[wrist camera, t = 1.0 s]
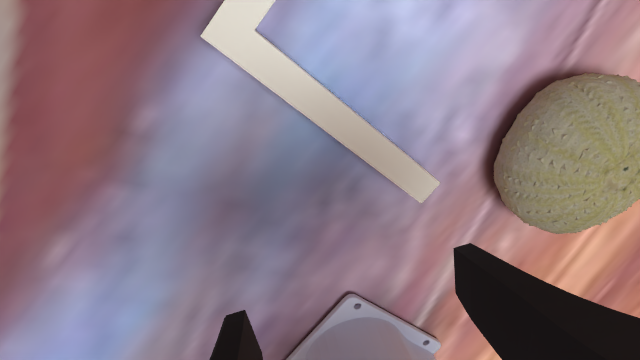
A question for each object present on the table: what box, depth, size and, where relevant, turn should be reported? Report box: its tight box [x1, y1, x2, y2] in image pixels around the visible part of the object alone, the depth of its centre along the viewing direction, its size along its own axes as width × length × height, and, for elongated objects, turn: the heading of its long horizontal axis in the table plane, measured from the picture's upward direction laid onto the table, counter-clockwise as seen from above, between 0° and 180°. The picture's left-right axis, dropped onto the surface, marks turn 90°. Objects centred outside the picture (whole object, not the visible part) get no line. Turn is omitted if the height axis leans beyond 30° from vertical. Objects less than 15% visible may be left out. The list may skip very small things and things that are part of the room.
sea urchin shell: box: [493, 73, 640, 234], centre depth 21 cm, size 9×8×8 cm
